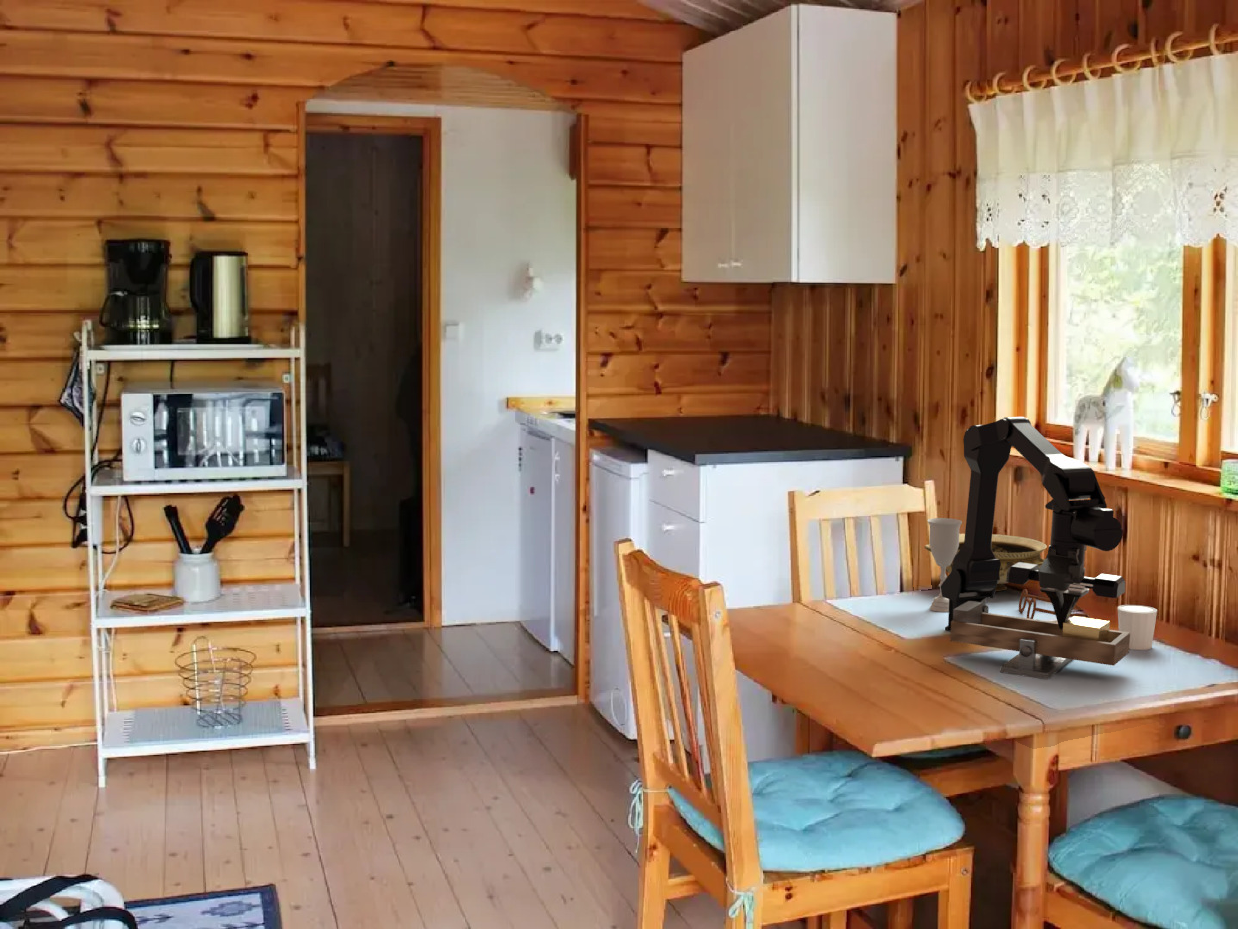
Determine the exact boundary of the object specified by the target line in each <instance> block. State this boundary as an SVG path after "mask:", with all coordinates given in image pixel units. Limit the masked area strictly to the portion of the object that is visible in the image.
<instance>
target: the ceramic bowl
mask: <svg viewBox="0 0 1238 929" xmlns="http://www.w3.org/2000/svg"><path fill="white" fill-rule="evenodd" d="M964 539H965V533H959V547H958V550H957V552H956V555H957V554H958V552H959V551H960V549H961V548H962V547H963V545H964ZM1047 548H1048V547H1047V544H1045V543H1044V542H1042V541H1039V540H1036V539H1032V538H1029V537H1023V536H1016V535H1015V536H1014V535H1004V534H993V533H992V543H991V549H992V551H993V553H994V555H995V557H996V559H999V560H1000V562H1001V566H1000V572H999V576H1000V580H998V583H997V586H996V590H995V592H999V591H1000V592H1001V591H1006V590H1007V589H1008V587H1007V586H1006V585H1005V584H1009V583H1008V582H1006V579H1007V571H1008V569H1009V568H1010V567H1011V566H1013V565H1015V564H1017V563H1018V562H1022V563H1029V564H1036V565H1038V566H1039V568H1040V566H1041V565H1042V563H1043V561H1044V560H1045V559H1046V558H1042V557H1041V553H1042V552H1045V550H1046V549H1047ZM924 549H925V550H927V552H930V553H932V552H931V548H930V545H929V544H925V545H924ZM956 555H955V556H956ZM954 558H955V557H954ZM953 561H954V559H953ZM953 561H952V563H951V565H950V566H947V567H946V570H945V572H946V573H948V574H950V573H951V571H952V566H953Z"/></svg>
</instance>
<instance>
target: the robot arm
mask: <svg viewBox="0 0 1238 929" xmlns="http://www.w3.org/2000/svg"><path fill="white" fill-rule="evenodd" d="M962 442H963V456H964V459H965V462H966V463H967V465H968V467H969V469H970V477H969V478H970V480H969V488H968V489H969V491H968V498H967V510H966V520H965V528H964V529H965V530H964V534H965V539H964V545H963V547H962V548H961V549H960V551H959V552H958V554H957V555H956V556H955V558H954V561H953V566H952V571H951V573H948V575H947V577H946V579H945V581H944V582H943V583H942V585H941V592H942V597H945V598H947V599H949V612H948V617H947V618H948V621H947V622H948V623H947V625H946V626H944V630H945V631H950V632H951V621H953V610H954V609H955V608H957V607H959V606H960V605H962V604H964V603H966V602H968V601H974V602H982V612H984V613H989V608H990V607H989V606H988V605H987V599H994V597H995V593H996V591H995V590H996V586H997V583H998V580H1000V576H999V572H1000V566H1001V562H1000V560H999V559H996V557H995V555H994V553H993V551H992V549H991V543H992V534H993V533H994V532H993V531H994V522H995V511H996V503H997V493H998V492H997V491H998V484H999V483H998V482H999V476H1000V473H1001V471H1002V470H1003V468H1004V467H1005V466H1006V464H1007V462H1008V461H1009V459H1010V454H1011V451H1012V448H1014V449H1015V451H1016V452H1018V453H1019V454H1020V455H1021V456H1022V457H1023V458H1024V459H1025V460H1026V461H1027V462H1028V463H1029V464H1031V466H1032V467H1033V468H1034V469H1035V470H1036V471H1037V472H1038V473H1039V474H1040V475H1041V484H1042V486H1043V487H1044V489H1045V491H1046V492H1047V493H1048V494H1049V496H1050V497H1051V500H1050V501H1048V502H1047V503H1045V505H1044V507H1045V509H1047V510H1050V511H1052V516H1051V528H1050V532H1051V533H1050V543H1049V545H1048V547H1047V548H1048V549H1047V555H1046V557H1045V558H1044V559H1045V560H1044V561H1043V563H1042V565H1041V566H1040V568H1039V566H1038V565H1036V564H1029V563H1022V562H1018V563H1017V564H1015V565H1013V566H1011V567H1010V568H1009V569H1008V571H1007V579H1006V582H1008V583H1007V584H1013V585H1014V584H1015V585H1021V586H1024V585H1025V584H1026V583H1027V582H1029V581H1035V582H1039V588H1040V589H1039V592H1041V593H1045V594H1046V596H1047V597H1048V599H1050V600H1051V603H1050V604H1051V605H1052V608H1053V611H1055V615H1054V616H1055V617H1056V621H1057V623H1058V625H1059V629H1063V623H1064V622H1066V621H1067V620H1069V619H1070V618H1071V617H1070V614H1072V612H1073V610H1074V608H1075V607H1074V606H1075V604H1077V602H1078V601H1079V600H1080V599H1081V598H1083V597H1084V596H1085V595H1087V594H1089V593H1090V590H1092V592H1093V593H1094V594H1095V595H1096V597H1102V598H1111V599H1118V598H1119V597H1120V596H1121V595H1124V593H1125V592H1126V580H1125V578H1124V577H1123V576H1121V575H1116V574H1115V575H1114V574H1107V573H1100V574H1098V576H1096V577H1089V576H1085V574H1086V573H1085V572H1086V567H1085V558H1086V557H1085V555H1086V551H1087V548H1088V547H1090V548H1093V549H1096V550H1099V551H1102V552H1110V551H1113V550H1114V549H1116V548H1117V547H1118V546H1119V545H1120V543H1121V541H1122V538H1123V535H1124V530H1123V528H1122V525H1121V523H1120V521H1119V520H1118V519H1117V518H1116V517H1114V510H1113V509H1111V508H1107V507H1108V504H1107V502H1106V497H1105V495H1104V493H1103V492H1102V489H1101V486H1100V485H1099V482H1098V479H1097V475H1096V473H1095V471H1094V470H1093V468H1092V467H1090V466H1089V465H1087V464H1085V463H1084V462H1083V461H1081V460H1078V459H1075V458H1072V457H1069V456H1066V455H1065V454H1063V453H1062V452H1061V451H1060V450H1058V448H1056V447H1055V446H1054V445H1053V444H1052V443H1051V442H1050V441H1049V440H1048V439H1047V438H1045V436H1044V435H1042V434H1041V433H1040V432H1039V431H1038V430H1037V429H1036V428H1035V427H1034V426H1033V425H1032V423H1031V420H1030V419H1029V418H1028V417H1025V416H1009V417H1008V416H1007V417H1006V416H1005V417H1003V418H1000V419H998V420H997V421H993V422H990V423H985V424H973V425H970V426H969V428H967V429H965V432H964V435H963V441H962Z"/></svg>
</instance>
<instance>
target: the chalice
mask: <svg viewBox="0 0 1238 929" xmlns="http://www.w3.org/2000/svg"><path fill="white" fill-rule="evenodd" d="M927 523H928V525H929V539H928V540H929V541H928V542H929V543H928V545H930V548H931V552H930V553H931V554H932V557H933V560H934V561H935V564H936V565H937V566H938V567H940V574H939V578H940V582H939V584H938V587H939V590H940V592H939V594H938V595H937V596H935V597H934V598H933V599H932V602H931V603H930V604H931V605H930V606H929V610H931V611H934V612H940V613H949V599H947V598H945V597H942V592H941V585H942V583H943V582H944V581H945V579H946V578H947V577H948V575H947V572H946V571H945V570H946V567H947V566H950V565H951V563H952V561H953V559H954V557H955V555H956V552H957V550H958V547H959V534H960V527H961V525H962V523H963V521H962V520H960V519H956V518H949V517H948V518H947V517H934V518H929V519H927Z"/></svg>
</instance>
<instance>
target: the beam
mask: <svg viewBox="0 0 1238 929" xmlns="http://www.w3.org/2000/svg"><path fill="white" fill-rule="evenodd" d="M949 636H950V637H949V638H950V642H953V643H954V642H955V643H960V644H961V643H962V644H966V645H968V644H969V645H974V646H978V647H979V646H980V647H987V648H994V649H1001V650H1007V651H1014V652H1019V648H1020V639H1022V638H1026V639H1033V640H1036V654H1039V655H1046V656H1053V657H1060V658H1066V659H1072V660H1075V661H1079V662H1080V661H1081V662H1087V663H1094V664H1101V665H1107V666H1113V667H1114V666H1115V665H1117V664H1118V663H1119V662H1120V661H1121V660H1123V658H1124V657H1126V656H1127V655H1128V654H1129V653H1130V649H1129V642H1130V632H1122V631H1119V630H1115V629H1109V643H1108V642H1101V641H1094V640H1087V639H1080V638H1073V637H1066V636H1063V629H1059V625H1058V622H1056V621H1049V620H1040V619H1035V618H1033V619H1028V618H1027V617H1018V616H1011V615H1007V614H1006V615H1005V614H1000V613H999V614H998V613H991V612H988V613H984V612H982V602H974V601H968V602H966V603H964V604H962V605H960V606H959V607H957V608H955V609H954V610H953V621H951V631H950V635H949Z"/></svg>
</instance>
